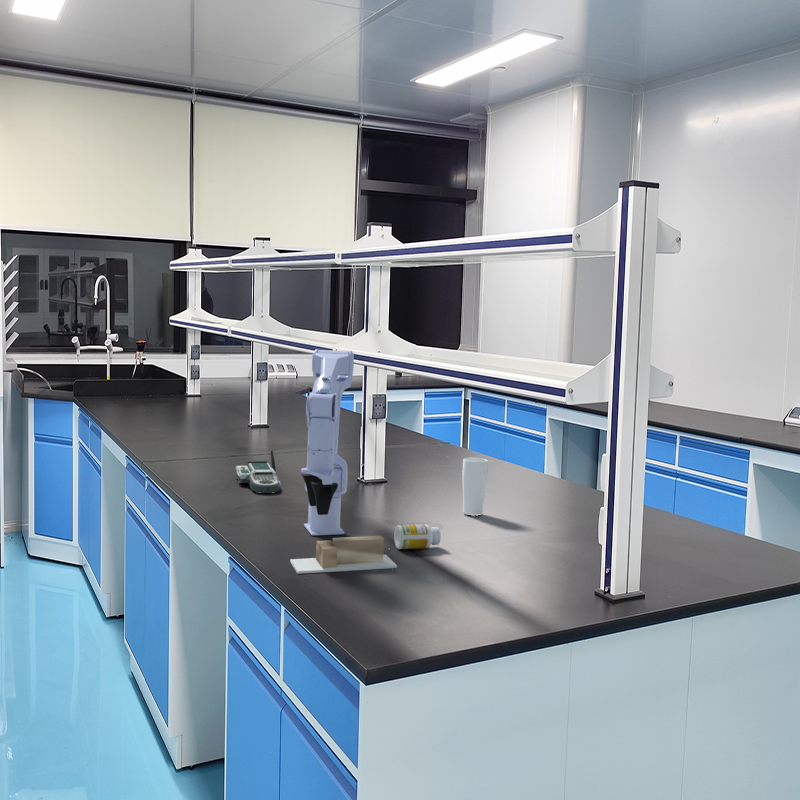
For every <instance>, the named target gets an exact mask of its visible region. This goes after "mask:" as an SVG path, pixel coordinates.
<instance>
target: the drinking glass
mask: <svg viewBox="0 0 800 800" xmlns="http://www.w3.org/2000/svg"><path fill="white" fill-rule="evenodd" d="M488 471H489V460H488V459H486V458H482V457H472V456H471V457H464V458H463V460H462V470H461V472H462V473H461V475H462V476H461V479H462V480H461V482H462V484H461V485H462V513H463V512H464V513H466V514H473V515H474V514H481V513H482V514H483V512H484V503H485V496H486V488H487V482H488ZM464 513H463V514H464Z"/></svg>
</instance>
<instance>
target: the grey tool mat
mask: <svg viewBox="0 0 800 800" xmlns="http://www.w3.org/2000/svg"><path fill="white" fill-rule="evenodd" d="M289 562H290V564H291V565H292V567H293V569H294V571H295V572H296V574H298V575H299V574H314V573H315V574H317V573H330V572H332V573H333V572H349V571H351V572H352V571H365V570H366V571H367V570H368V571H369V570H383V569H397V568H398V565H397V564H396V563H395V562H394V561H393V560H392V559H391V558H390V557H389V556H388V555H387V554H384V553H383V562H374V563H357V564H339V565H337V567H336V568H322V567H321V566H320V564H319V563H318V562H317V560H316V557H310V558H293V559H292V558H290V560H289Z"/></svg>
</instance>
